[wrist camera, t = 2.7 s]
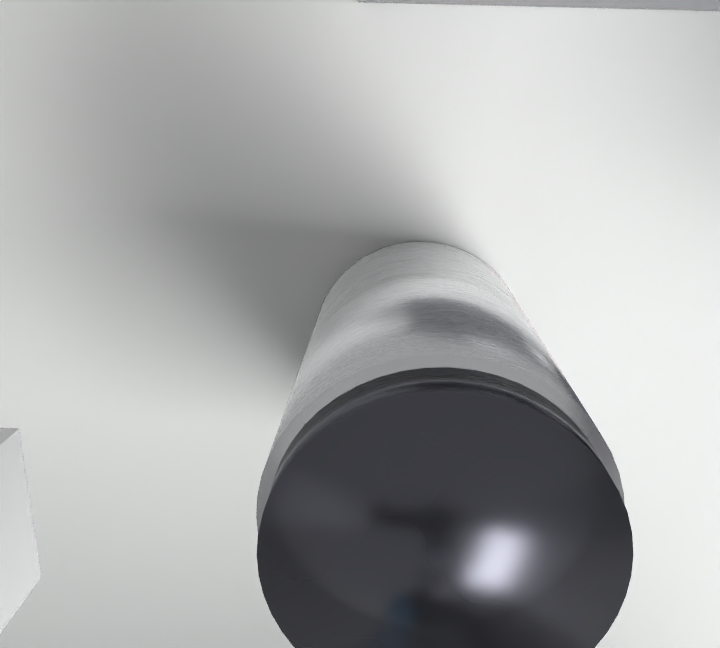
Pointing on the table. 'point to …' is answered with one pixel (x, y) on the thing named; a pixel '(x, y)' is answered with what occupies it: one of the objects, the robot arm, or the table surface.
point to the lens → (437, 473)
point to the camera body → (580, 3)
